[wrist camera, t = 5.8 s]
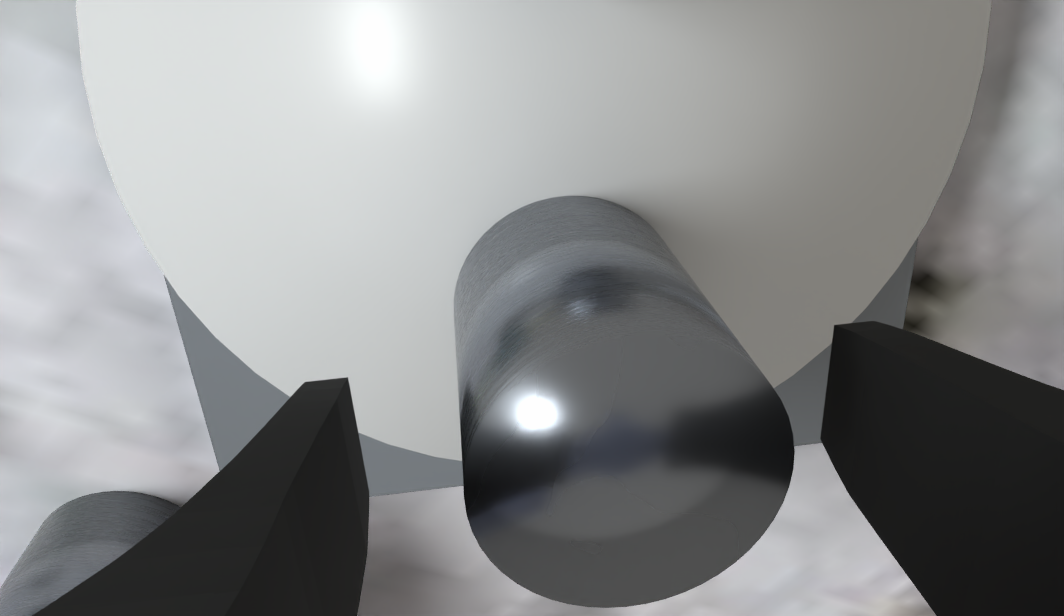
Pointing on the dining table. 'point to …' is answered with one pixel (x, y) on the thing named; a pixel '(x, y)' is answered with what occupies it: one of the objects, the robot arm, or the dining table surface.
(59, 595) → the cylinder
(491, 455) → the cylinder
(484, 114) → the scale
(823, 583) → the dining table surface
